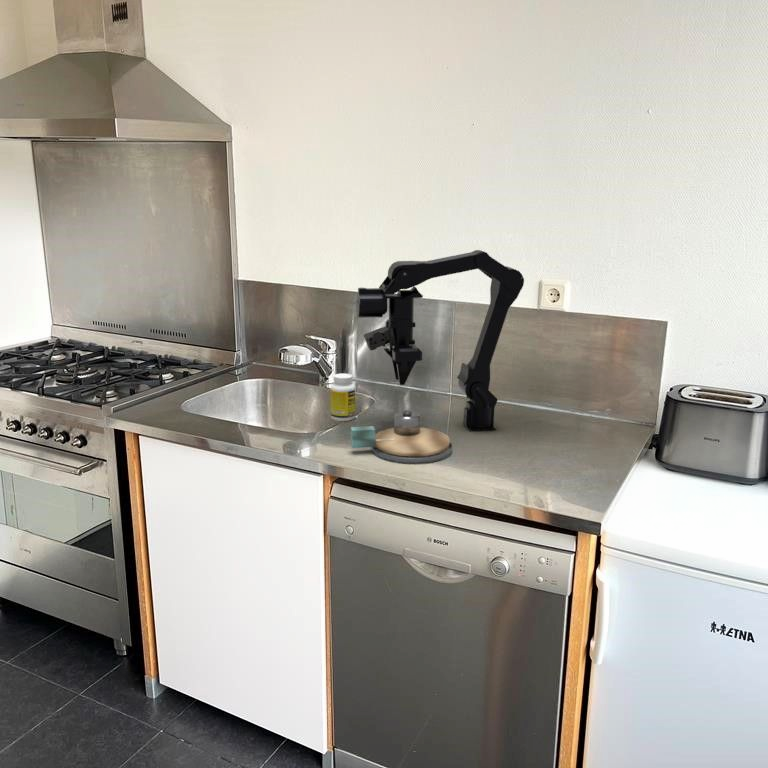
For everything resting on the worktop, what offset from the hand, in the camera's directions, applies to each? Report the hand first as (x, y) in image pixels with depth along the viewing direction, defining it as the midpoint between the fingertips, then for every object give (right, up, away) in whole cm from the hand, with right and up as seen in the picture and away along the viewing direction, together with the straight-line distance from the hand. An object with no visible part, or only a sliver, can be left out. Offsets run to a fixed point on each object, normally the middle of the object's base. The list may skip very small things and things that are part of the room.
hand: (399, 382), depth 180 cm
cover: (+1, -11, -6) cm, 13 cm away
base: (+2, -15, -10) cm, 18 cm away
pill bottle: (-14, -9, +12) cm, 21 cm away
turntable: (0, -14, -10) cm, 17 cm away
